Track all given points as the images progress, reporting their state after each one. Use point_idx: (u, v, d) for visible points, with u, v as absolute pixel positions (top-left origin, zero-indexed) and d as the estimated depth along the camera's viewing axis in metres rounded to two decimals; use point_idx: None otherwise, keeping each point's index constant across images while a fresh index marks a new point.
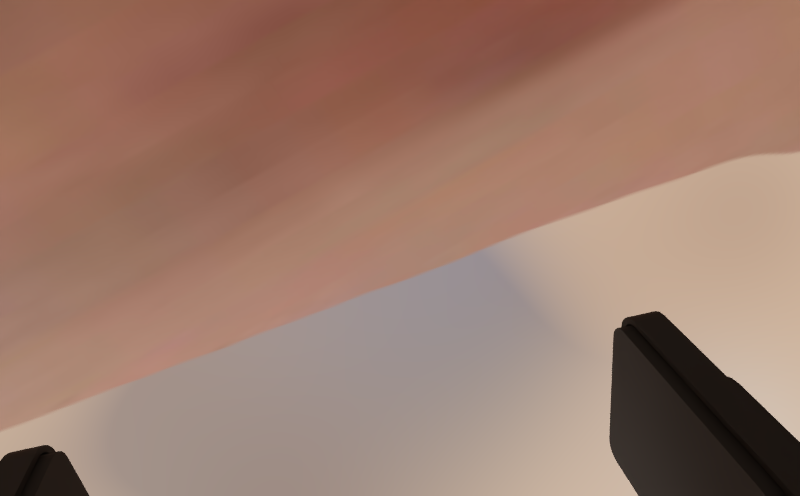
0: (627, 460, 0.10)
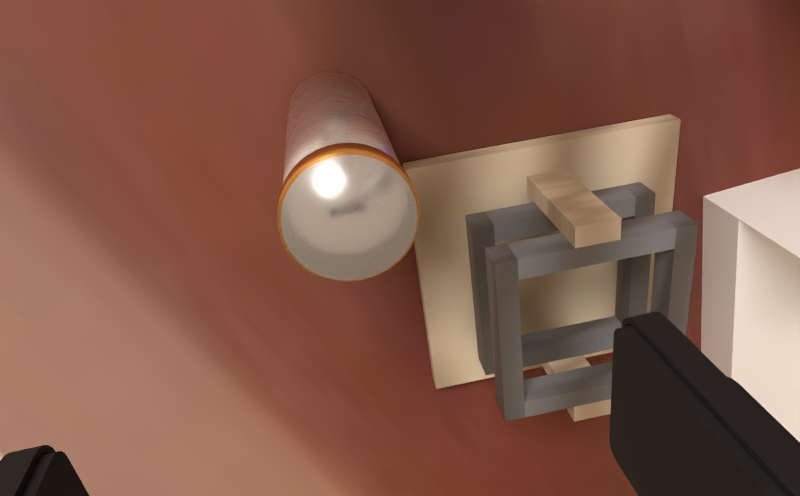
0: (627, 460, 0.10)
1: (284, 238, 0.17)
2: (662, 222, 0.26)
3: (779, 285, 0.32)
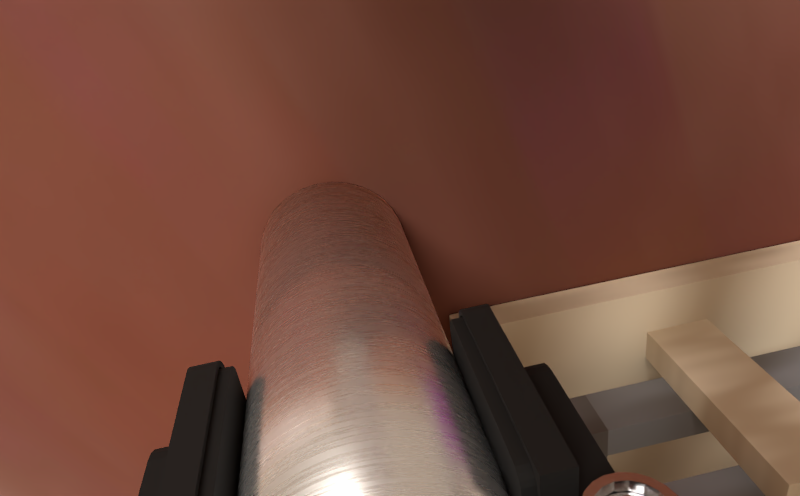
0: None
1: None
2: None
3: None
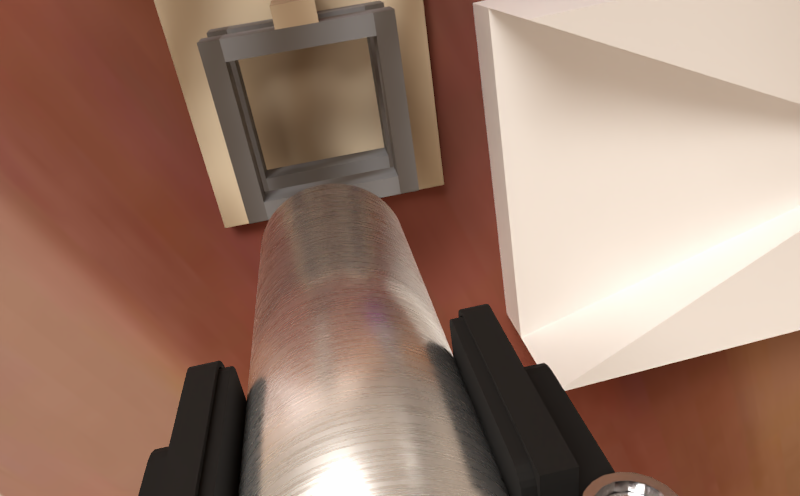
0: None
1: None
2: (366, 12, 0.28)
3: (536, 86, 0.33)
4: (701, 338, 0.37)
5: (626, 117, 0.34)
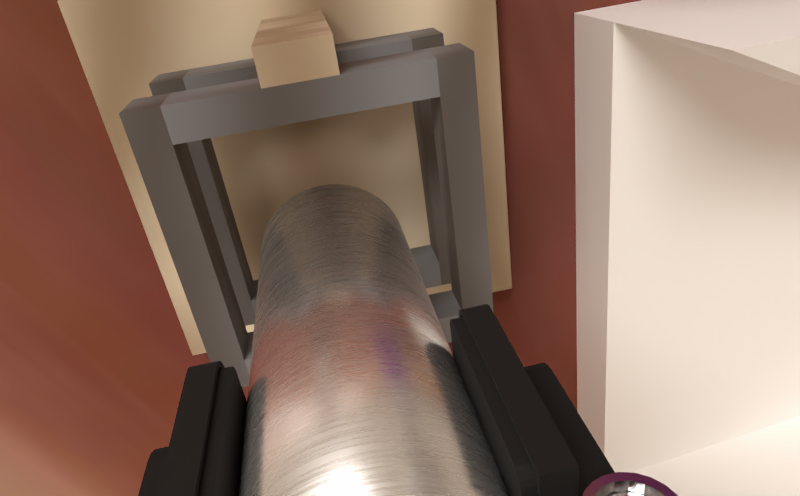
0: None
1: None
2: (421, 54, 0.16)
3: (675, 147, 0.21)
4: None
5: None
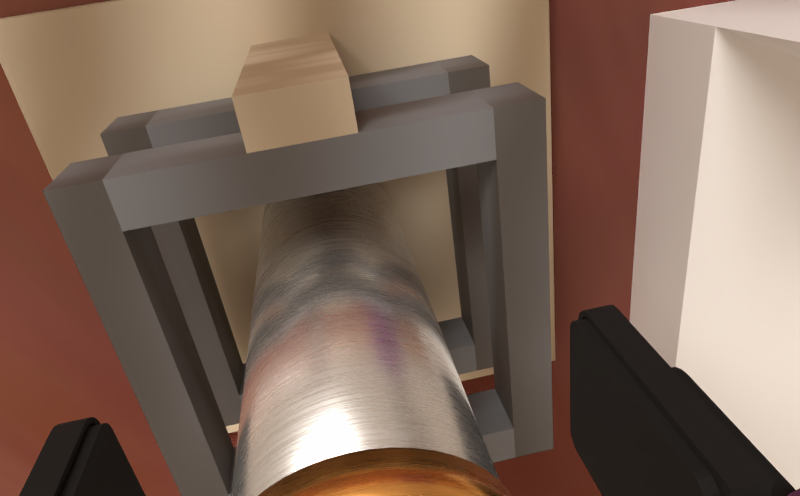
0: (585, 449, 0.11)
1: None
2: (470, 101, 0.11)
3: (779, 187, 0.17)
4: None
5: None
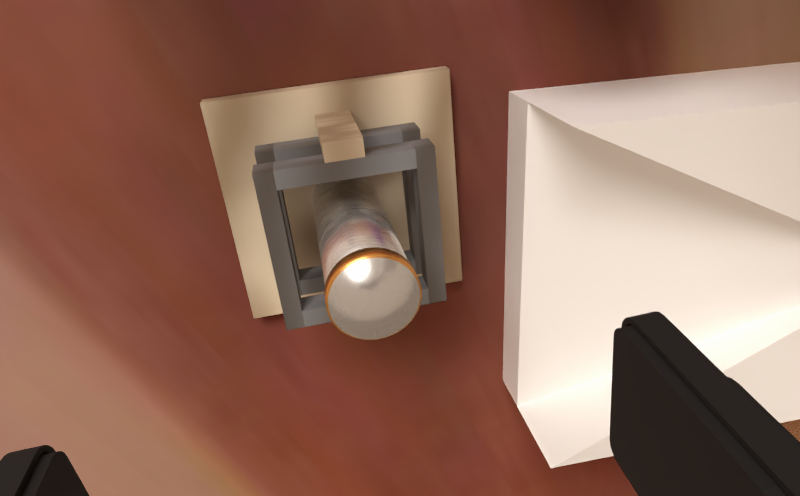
0: (627, 460, 0.10)
1: (329, 311, 0.25)
2: (407, 145, 0.30)
3: (563, 177, 0.35)
4: None
5: (642, 214, 0.36)
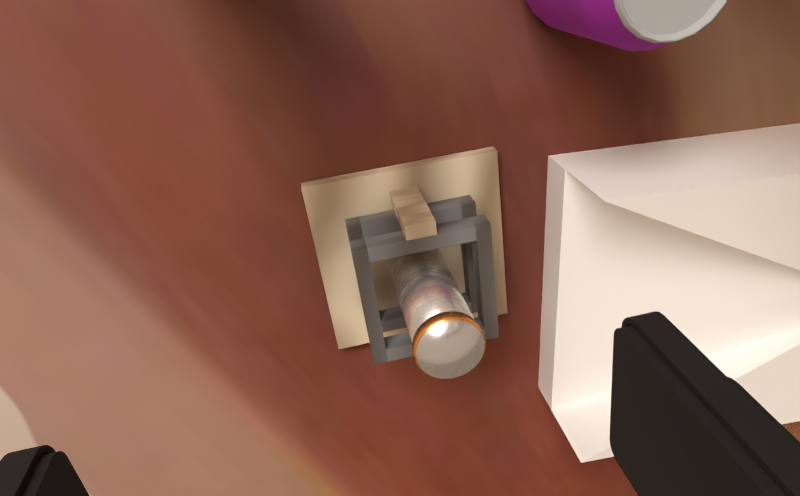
0: (627, 460, 0.10)
1: (417, 360, 0.34)
2: (468, 222, 0.38)
3: (593, 227, 0.43)
4: None
5: (658, 256, 0.44)
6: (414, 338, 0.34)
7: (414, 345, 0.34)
